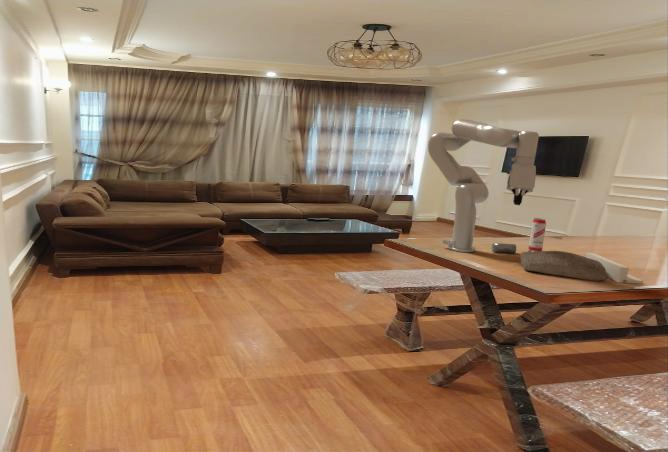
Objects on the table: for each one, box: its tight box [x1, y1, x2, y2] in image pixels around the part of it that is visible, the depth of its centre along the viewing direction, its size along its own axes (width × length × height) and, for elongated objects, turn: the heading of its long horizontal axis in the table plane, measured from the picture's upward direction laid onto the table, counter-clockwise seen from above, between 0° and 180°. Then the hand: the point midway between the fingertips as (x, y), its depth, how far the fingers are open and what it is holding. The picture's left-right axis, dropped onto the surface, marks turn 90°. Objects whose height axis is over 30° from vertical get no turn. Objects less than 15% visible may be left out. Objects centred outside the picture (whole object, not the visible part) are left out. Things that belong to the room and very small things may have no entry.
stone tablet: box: [519, 250, 608, 282], centre depth 184 cm, size 20×8×30 cm
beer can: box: [528, 217, 547, 251], centre depth 221 cm, size 6×6×16 cm
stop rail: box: [585, 252, 644, 285], centre depth 185 cm, size 10×24×6 cm, turn 0°
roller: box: [491, 242, 517, 254], centre depth 213 cm, size 10×4×4 cm, turn 90°
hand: (516, 204), depth 191 cm, fingers closed
